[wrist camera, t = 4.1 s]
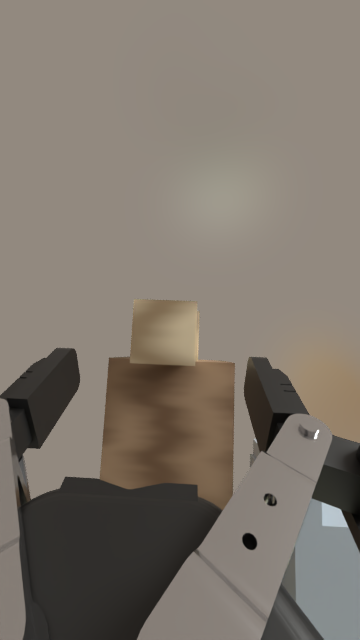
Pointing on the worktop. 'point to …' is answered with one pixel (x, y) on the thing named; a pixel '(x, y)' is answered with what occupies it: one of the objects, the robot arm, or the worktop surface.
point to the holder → (325, 571)
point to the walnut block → (170, 426)
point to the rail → (165, 332)
